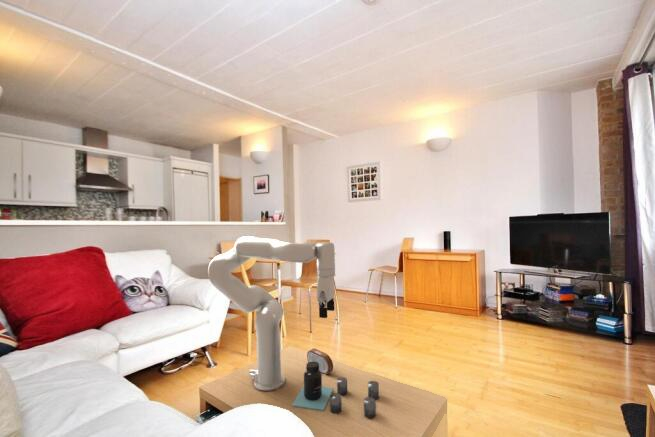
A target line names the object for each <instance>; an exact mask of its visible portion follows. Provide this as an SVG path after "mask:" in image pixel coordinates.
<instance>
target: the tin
mask: <svg viewBox="0 0 655 437" xmlns="http://www.w3.org/2000/svg"><path fill="white" fill-rule="evenodd" d="M306 357H307V358H306V359H307V363H308V362H312V361H314V362H318V363H319V370H320V371H321V373H322V375H328V374H330V373H332V372H333V370H334V364H333V360H332V358H331V356H329V354H327V353H326V352H324V351H322V350H319V349H317V348H315V347H314V348H312V349H310V350H308V351H307V354H306Z"/></svg>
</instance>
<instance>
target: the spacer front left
mask: <svg viewBox="0 0 655 437" xmlns="http://www.w3.org/2000/svg"><path fill="white" fill-rule="evenodd" d="M329 406H330V407H329V411H330V413H331V414H334V415H338V414H341V413H342V411H343V410H342V406H343V405H342V396H341V394H339V393H337V392H332V394H331V395H330V398H329Z"/></svg>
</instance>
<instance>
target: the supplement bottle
mask: <svg viewBox="0 0 655 437" xmlns="http://www.w3.org/2000/svg"><path fill="white" fill-rule="evenodd" d="M322 377H323V373H321V371H320V370H319V363H318V362H314V361H312V362H308V361H307V363H306V367H305V371H304V373H303V386H304V397H305V398H306V399H308V400H317V399H319V398H320V397H321V396H322V387H323V379H322Z"/></svg>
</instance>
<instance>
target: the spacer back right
mask: <svg viewBox="0 0 655 437" xmlns="http://www.w3.org/2000/svg"><path fill="white" fill-rule="evenodd" d="M379 389H380V388H379V382H378V381H375V380H369V381H368V382H367V397H372V398H374V399H375V400H376V401H377V400H379V399H380V393H379V392H380V390H379Z"/></svg>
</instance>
